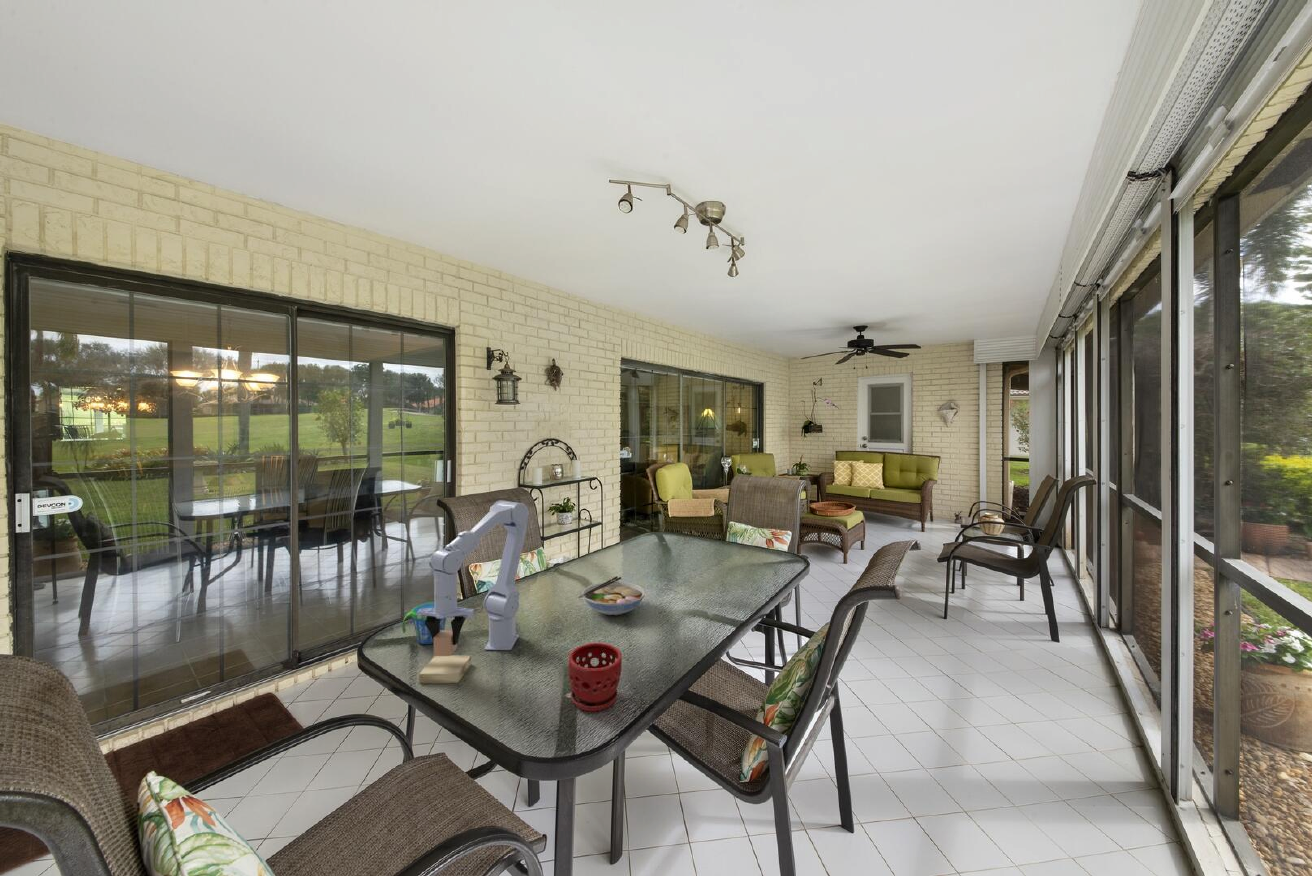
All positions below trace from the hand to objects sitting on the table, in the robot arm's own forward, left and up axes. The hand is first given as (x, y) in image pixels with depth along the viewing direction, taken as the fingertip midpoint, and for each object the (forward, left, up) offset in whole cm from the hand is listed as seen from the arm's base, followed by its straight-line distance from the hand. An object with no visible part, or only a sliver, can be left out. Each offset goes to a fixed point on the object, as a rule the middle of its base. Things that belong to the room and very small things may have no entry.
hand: (446, 643), depth 134 cm
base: (0, 0, -8) cm, 8 cm away
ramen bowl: (-43, +43, -9) cm, 61 cm away
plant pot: (+13, +42, -9) cm, 45 cm away
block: (0, 0, -2) cm, 2 cm away
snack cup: (-20, -13, -9) cm, 25 cm away
